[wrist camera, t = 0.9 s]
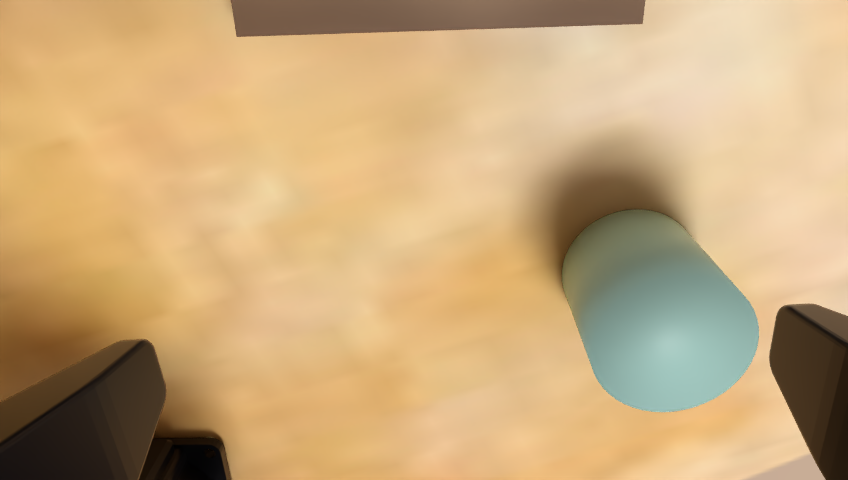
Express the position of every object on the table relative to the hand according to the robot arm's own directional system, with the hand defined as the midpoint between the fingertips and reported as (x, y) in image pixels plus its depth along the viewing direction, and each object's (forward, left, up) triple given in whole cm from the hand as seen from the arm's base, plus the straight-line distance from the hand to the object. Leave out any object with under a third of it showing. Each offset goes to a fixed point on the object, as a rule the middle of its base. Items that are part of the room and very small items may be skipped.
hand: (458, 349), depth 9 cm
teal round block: (-6, -7, -14) cm, 16 cm away
